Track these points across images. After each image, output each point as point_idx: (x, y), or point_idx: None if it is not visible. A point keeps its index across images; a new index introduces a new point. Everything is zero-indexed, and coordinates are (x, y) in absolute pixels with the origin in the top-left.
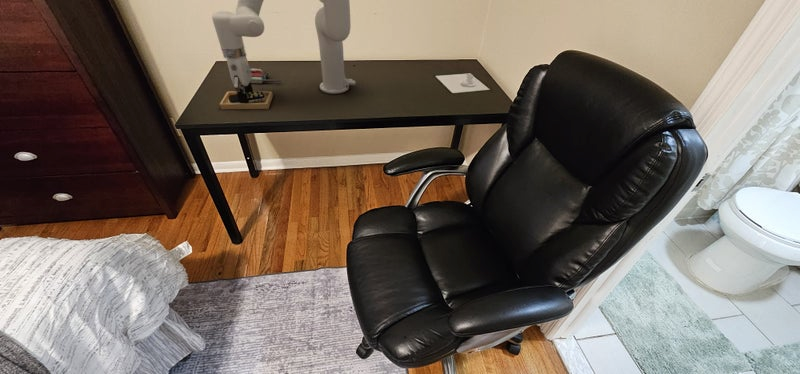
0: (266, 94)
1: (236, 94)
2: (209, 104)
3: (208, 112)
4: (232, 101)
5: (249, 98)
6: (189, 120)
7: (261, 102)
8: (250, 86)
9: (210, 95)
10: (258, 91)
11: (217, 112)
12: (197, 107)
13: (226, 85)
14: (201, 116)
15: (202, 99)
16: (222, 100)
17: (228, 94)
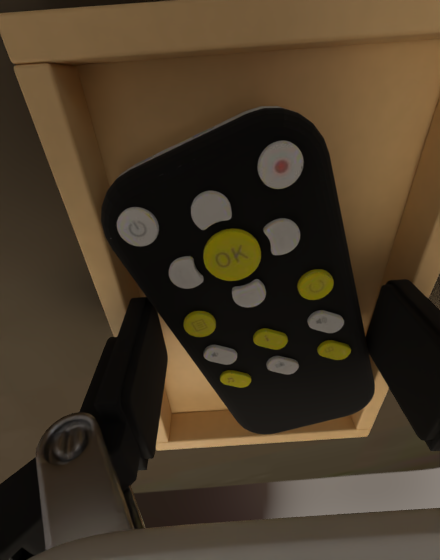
0: (86, 129)
1: (239, 407)
2: (274, 449)
3: (373, 432)
4: (371, 397)
5: (348, 294)
6: (436, 459)
7: None
8: (137, 374)
9: (165, 469)
10: (137, 244)
11: (387, 404)
12: (304, 470)
13: (9, 453)
14: (411, 440)
15: (216, 477)
16: (308, 438)
17: (189, 432)
